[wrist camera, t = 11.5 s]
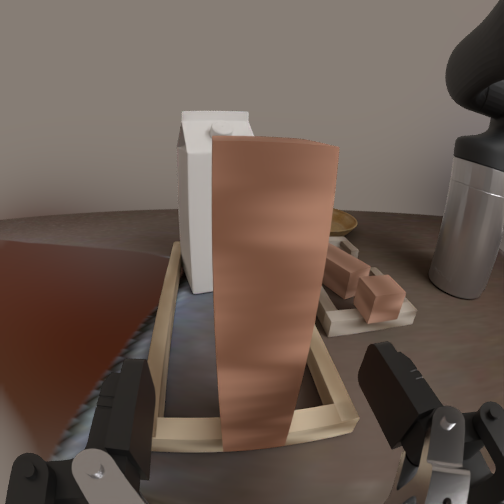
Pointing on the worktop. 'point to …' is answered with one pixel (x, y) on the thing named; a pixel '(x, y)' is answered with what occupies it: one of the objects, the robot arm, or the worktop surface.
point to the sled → (260, 301)
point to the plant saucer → (341, 223)
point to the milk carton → (200, 188)
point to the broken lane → (351, 315)
